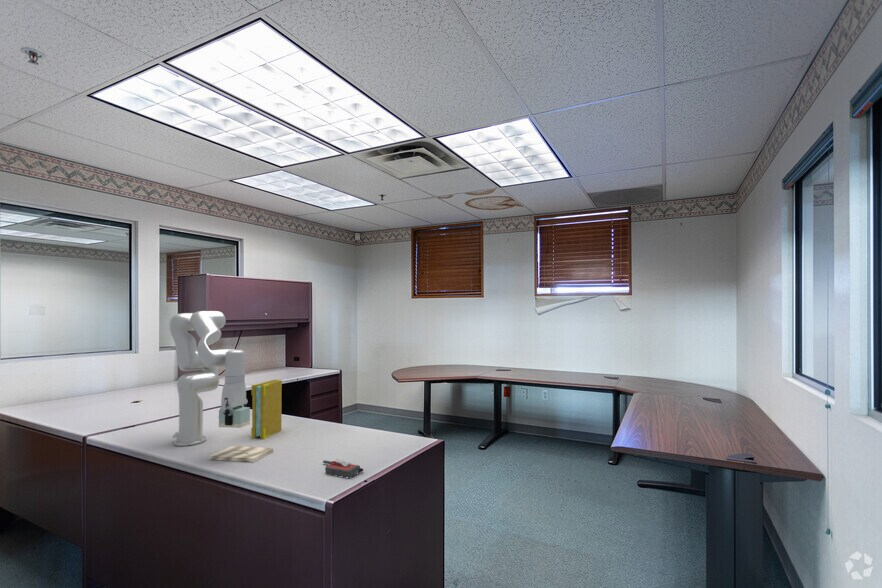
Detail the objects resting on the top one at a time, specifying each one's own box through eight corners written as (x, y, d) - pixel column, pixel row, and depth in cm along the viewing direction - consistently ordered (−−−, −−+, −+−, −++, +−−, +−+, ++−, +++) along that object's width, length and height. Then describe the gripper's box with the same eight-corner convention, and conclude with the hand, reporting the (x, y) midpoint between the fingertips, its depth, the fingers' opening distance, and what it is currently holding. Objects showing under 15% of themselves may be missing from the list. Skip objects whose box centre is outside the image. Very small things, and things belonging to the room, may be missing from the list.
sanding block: (218, 427, 171) (219, 409, 172) (228, 423, 177) (228, 406, 178) (240, 427, 170) (240, 410, 170) (249, 424, 175) (249, 407, 176)
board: (209, 459, 167) (209, 455, 168) (232, 449, 180) (232, 445, 180) (253, 462, 163) (253, 458, 164) (273, 451, 176) (273, 448, 176)
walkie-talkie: (367, 471, 152) (325, 464, 161) (367, 459, 153) (325, 452, 161) (352, 480, 144) (308, 471, 153) (351, 467, 145) (308, 459, 154)
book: (263, 439, 195) (264, 385, 196) (251, 438, 196) (251, 385, 198) (284, 429, 212) (284, 379, 213) (272, 428, 213) (272, 379, 214)
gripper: (240, 376, 184) (240, 417, 183) (211, 382, 167) (211, 428, 166) (255, 376, 182) (255, 418, 181) (228, 383, 165) (227, 428, 164)
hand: (234, 422), depth 173 cm, fingers closed on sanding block, 6 cm apart
